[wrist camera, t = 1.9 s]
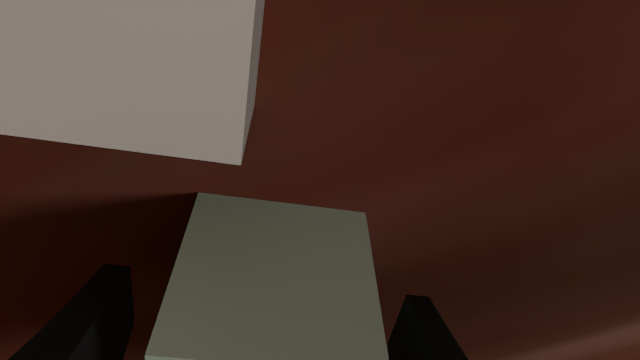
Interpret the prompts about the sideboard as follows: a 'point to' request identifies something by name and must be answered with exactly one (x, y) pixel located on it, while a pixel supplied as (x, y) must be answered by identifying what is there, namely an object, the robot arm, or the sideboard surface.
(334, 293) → the green block
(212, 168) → the sideboard surface
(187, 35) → the grey base
